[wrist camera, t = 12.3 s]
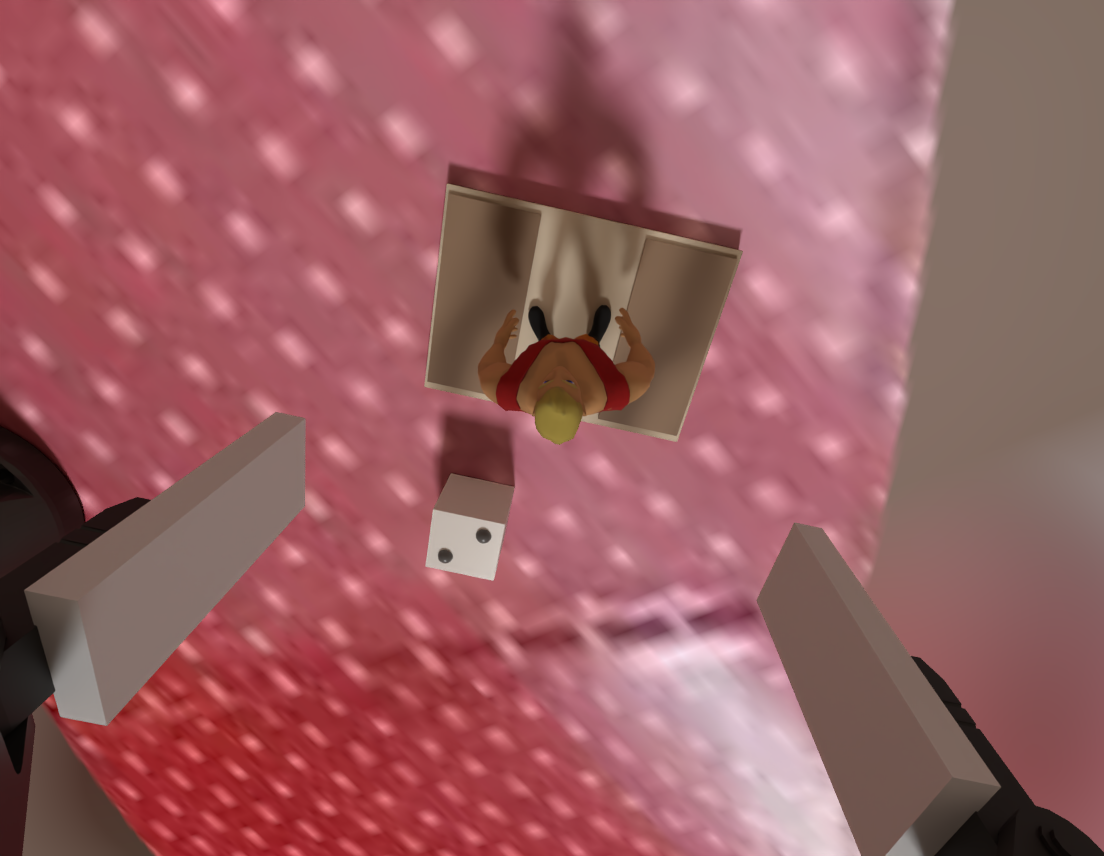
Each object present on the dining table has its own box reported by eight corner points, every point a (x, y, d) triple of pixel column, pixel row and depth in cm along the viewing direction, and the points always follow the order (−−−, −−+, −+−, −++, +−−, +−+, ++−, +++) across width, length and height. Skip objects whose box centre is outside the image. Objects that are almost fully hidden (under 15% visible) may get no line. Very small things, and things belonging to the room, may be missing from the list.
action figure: (645, 295, 33) (684, 376, 19) (642, 351, 34) (677, 463, 21) (494, 298, 33) (429, 378, 20) (499, 352, 35) (441, 461, 21)
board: (428, 381, 37) (423, 387, 36) (451, 183, 32) (446, 183, 31) (674, 435, 38) (677, 443, 36) (738, 249, 32) (743, 251, 31)
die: (443, 526, 42) (423, 571, 37) (450, 473, 40) (431, 513, 35) (504, 538, 42) (492, 585, 37) (514, 486, 40) (504, 528, 35)
